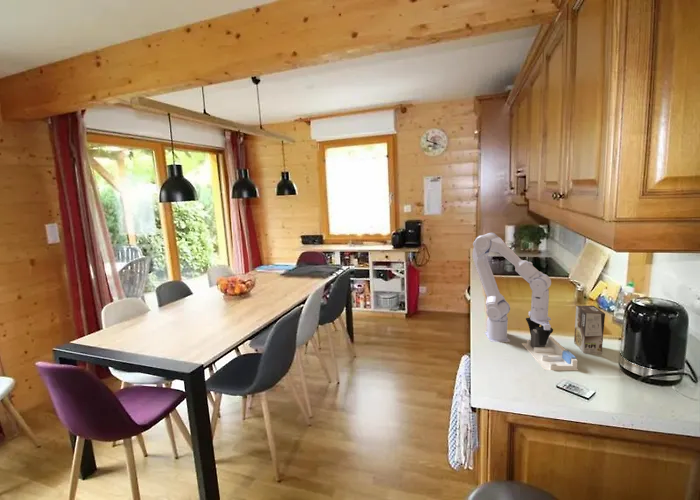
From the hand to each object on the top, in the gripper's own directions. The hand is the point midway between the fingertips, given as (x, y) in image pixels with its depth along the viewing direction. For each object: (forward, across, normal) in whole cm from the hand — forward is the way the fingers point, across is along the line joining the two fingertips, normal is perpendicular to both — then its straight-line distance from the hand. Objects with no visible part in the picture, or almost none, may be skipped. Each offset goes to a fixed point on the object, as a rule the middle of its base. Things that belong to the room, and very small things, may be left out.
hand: (538, 340), depth 138 cm
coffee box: (+4, 0, -18) cm, 18 cm away
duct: (+4, -6, -1) cm, 7 cm away
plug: (+3, 0, 0) cm, 3 cm away
